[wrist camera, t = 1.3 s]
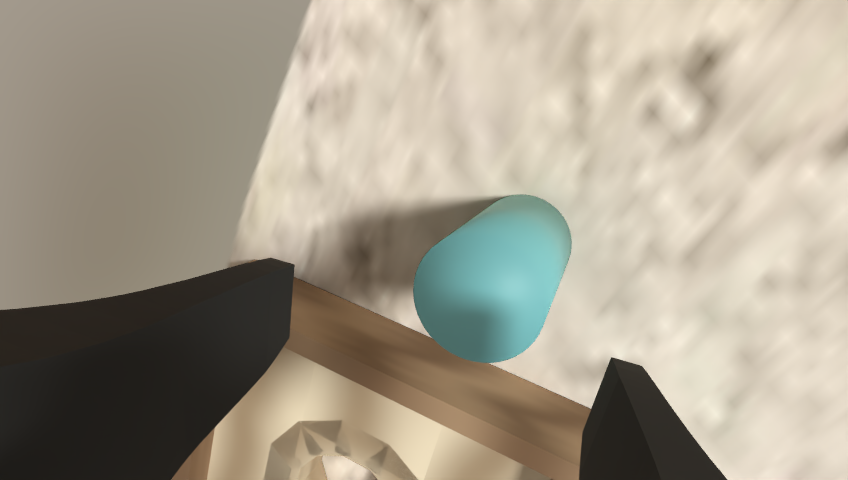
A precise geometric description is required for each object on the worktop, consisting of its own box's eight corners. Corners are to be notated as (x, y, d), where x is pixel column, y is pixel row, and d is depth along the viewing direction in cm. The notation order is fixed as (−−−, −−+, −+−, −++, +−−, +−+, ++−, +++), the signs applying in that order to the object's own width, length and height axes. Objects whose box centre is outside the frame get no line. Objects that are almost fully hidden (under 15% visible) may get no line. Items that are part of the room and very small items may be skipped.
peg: (588, 267, 21) (571, 338, 14) (500, 301, 22) (450, 378, 16) (544, 177, 20) (507, 209, 14) (458, 219, 22) (391, 264, 16)
